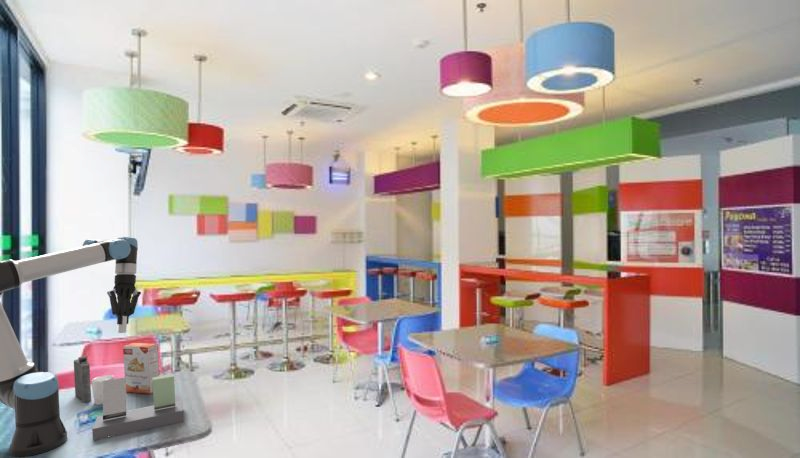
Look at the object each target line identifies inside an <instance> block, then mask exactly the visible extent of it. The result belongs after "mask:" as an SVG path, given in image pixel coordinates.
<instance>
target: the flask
mask: <svg viewBox="0 0 800 458" xmlns="http://www.w3.org/2000/svg"><path fill="white" fill-rule="evenodd" d="M90 368H91V367H90V362H89V361H88V356H87V355H82V356H79V357H78V359H74V360H73V375H74V376H73V377H74V392H75V393H74V394H75V397H76V398H79V399H80V400H82V403H85V404H86V403H87V404H88V403H91V401H92V384H91V369H90Z"/></svg>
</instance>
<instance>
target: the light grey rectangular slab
mask: <svg viewBox="0 0 800 458" xmlns="http://www.w3.org/2000/svg"><path fill="white" fill-rule="evenodd" d="M126 411H127V392H126V377H125V376H124V377H119V378H114V379H113V380H107V381H103V404H102V415H103V420H107V419H112V418H117V417H122V416H126Z"/></svg>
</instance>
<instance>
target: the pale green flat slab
mask: <svg viewBox="0 0 800 458" xmlns="http://www.w3.org/2000/svg"><path fill="white" fill-rule="evenodd" d="M152 383H153V393H152V396H153V405H154V410H157V409H162V408H167V407H172V406H175V401H176V392H175V391H176V390H175V387H176V386H175V374H174V373H172V374H165V375H159V377H153V378H152Z"/></svg>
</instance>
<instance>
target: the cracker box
mask: <svg viewBox="0 0 800 458" xmlns="http://www.w3.org/2000/svg"><path fill="white" fill-rule="evenodd" d="M158 345H159V344H158V343H145V342H131V343H129V344H125V345H123V346H122V347H123V348H122V350H123V352H122V353H123V354H122V355H123V368H124V369H123V370H124V373H123V374H124V378H125V377H126V393H134V394H135V393H136V394H147V395H151V394H153V383H152V378H153V377H159V376H160V368H159V367H160V364H159V347H158Z"/></svg>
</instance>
